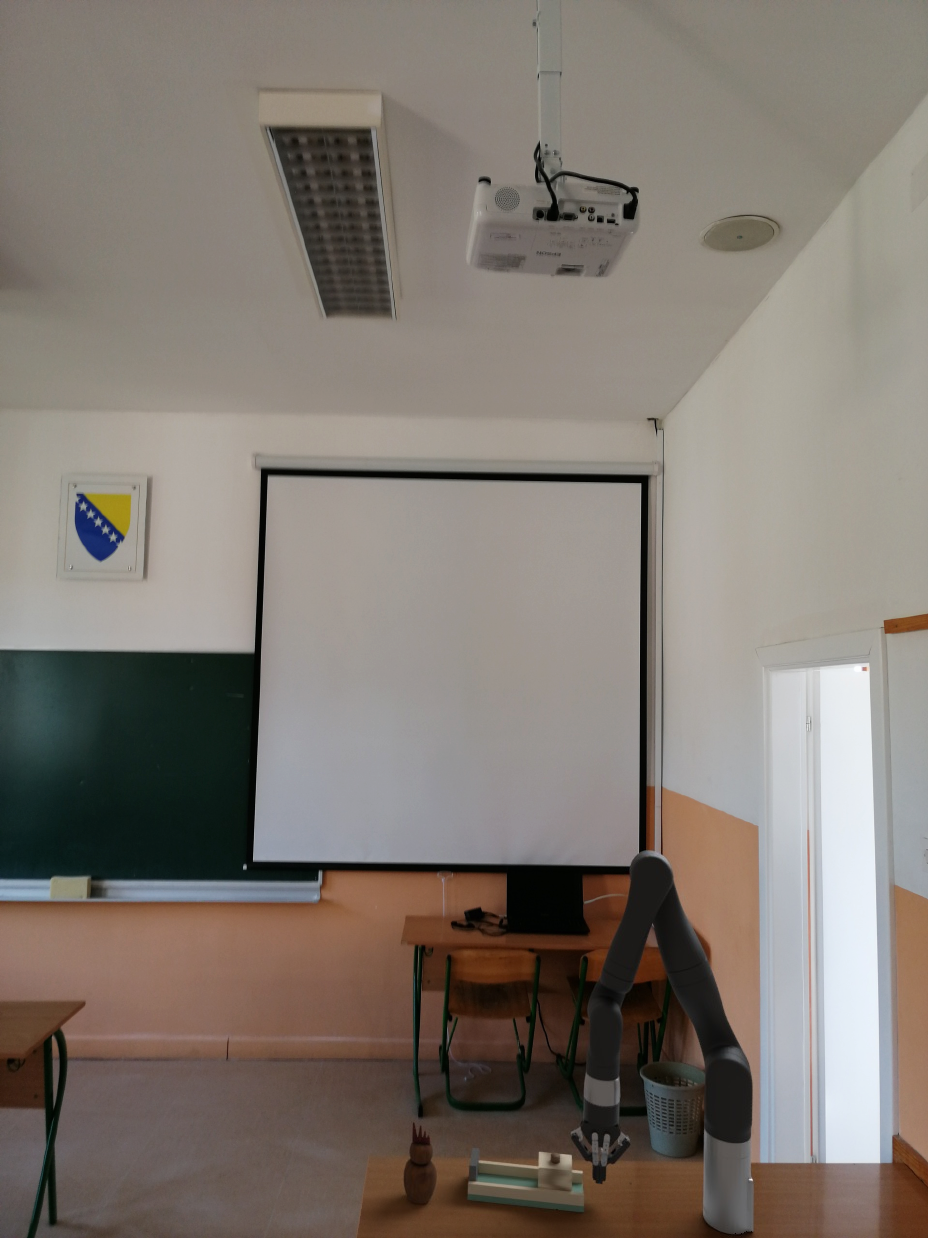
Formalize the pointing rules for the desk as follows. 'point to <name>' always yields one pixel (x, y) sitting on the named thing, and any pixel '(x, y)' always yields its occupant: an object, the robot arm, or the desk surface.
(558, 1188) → the cream knobbed cube
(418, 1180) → the wooden figurine
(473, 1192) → the rail
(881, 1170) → the desk surface
